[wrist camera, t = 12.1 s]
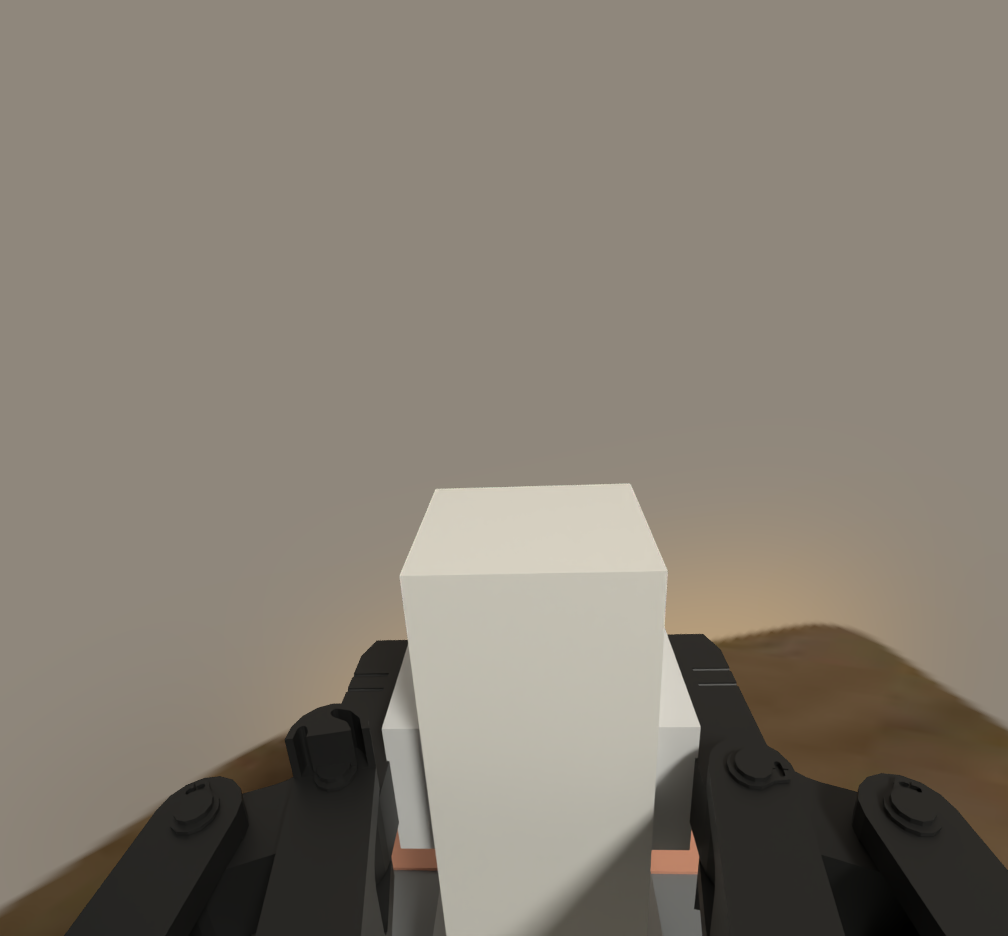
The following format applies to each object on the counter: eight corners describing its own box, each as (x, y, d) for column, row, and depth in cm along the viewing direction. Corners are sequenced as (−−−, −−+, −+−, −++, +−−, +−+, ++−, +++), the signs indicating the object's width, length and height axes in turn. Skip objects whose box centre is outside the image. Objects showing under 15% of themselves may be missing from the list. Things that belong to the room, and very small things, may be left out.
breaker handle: (418, 1142, 11) (316, 622, 7) (453, 872, 15) (406, 470, 11) (689, 1154, 10) (755, 616, 6) (640, 874, 15) (661, 462, 11)
